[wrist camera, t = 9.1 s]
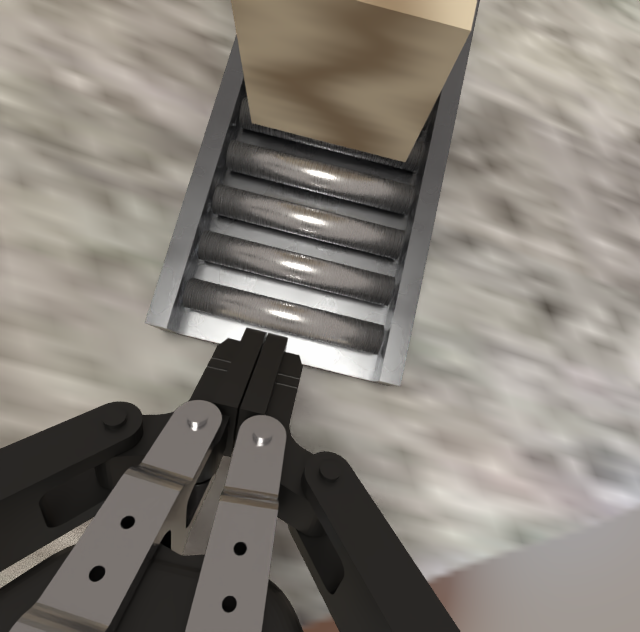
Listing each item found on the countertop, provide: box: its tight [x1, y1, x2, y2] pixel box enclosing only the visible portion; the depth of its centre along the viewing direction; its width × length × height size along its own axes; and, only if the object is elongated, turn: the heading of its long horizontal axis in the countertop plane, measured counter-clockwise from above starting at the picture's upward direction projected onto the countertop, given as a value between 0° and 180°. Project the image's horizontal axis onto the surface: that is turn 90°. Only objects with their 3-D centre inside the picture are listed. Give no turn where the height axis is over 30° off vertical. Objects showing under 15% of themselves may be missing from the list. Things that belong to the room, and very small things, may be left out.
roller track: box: [145, 0, 480, 386], centre depth 20 cm, size 12×24×7 cm, turn 166°
